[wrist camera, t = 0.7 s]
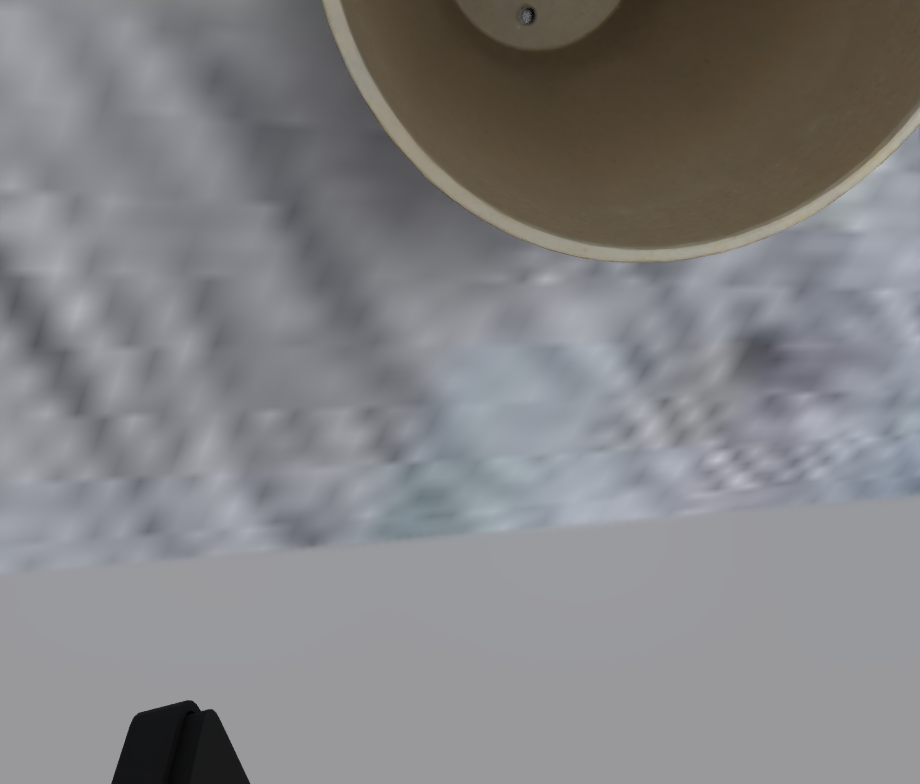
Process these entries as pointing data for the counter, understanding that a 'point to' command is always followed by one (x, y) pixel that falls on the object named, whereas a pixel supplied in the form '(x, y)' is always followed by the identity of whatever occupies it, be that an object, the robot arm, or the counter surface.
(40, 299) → the counter surface
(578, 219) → the plant pot
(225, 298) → the counter surface
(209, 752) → the robot arm
